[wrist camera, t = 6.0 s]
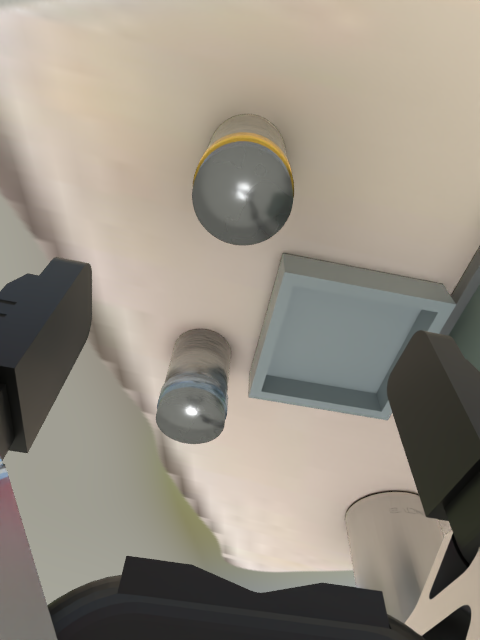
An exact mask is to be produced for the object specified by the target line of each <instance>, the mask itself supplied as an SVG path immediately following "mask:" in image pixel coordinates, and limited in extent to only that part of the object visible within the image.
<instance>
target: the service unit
mask: <svg viewBox="0 0 480 640" xmlns="http://www.w3.org/2000/svg"><path fill="white" fill-rule="evenodd" d="M451 297H452V299H453V300H454V302H455V303H456V306H455V308H454V309H453V311H452V313H451V314H450V316H449V318H448V319H447V321H446V323H445V324H444V326H443V328H442V329H441V331H440V333H439V334H443V335H448V336H451V337H452V338H453V339H454V340H455V342H456V344H457V346H458V347H459V349H460V351H461V352H462V354H463V356H464V358H465V359H467V360H468V361H469V362H470V363H471V364H472V365H473V366H474V367H475V368H476V369H477V370H478V371H480V247H479V248H478V250H477V252H476V254H475V255H474V257H473V259H472V261H471V262H470V264H469V266H468V267H467V269H466V271H465V273H464V274H463V276H462V278H461V280H460V281H459V283H458V285H457V287H456V288H455V290H454V292H453V294H452V295H451Z"/></svg>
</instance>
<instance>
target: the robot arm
mask: <svg viewBox="0 0 480 640" xmlns="http://www.w3.org/2000/svg"><path fill="white" fill-rule="evenodd" d="M91 320H92V270H91V266H90V264H89V263H84V262H79V261H74V260H69V259H64V258H59V257H55V258H54V259H53V260H52V261H51V262H50V263H49V264H48V265H47V267H46V268H45V269H44V270H43V272H42V273H41V274H40V275H39V276H38V275H33V274H26V275H24V276H22V277H20V278H18V279H16V280H14V281H12V282H10V283H8V284H7V285H6V286H5V287H4V288H3V289H2V290H1V291H0V640H480V371H478V370H477V369H476V368H475V367H474V366H473V365H472V364H471V363H470V362H469V361H468V360H467V359H465V358H464V356H463V354H462V352H461V351H460V349H459V347H458V346H457V344H456V342H455V340H454V339H453V338H452V337H451V336H448V335H443V334H438V333H433V332H428V331H423V330H419V331H417V332H416V333H414V335H413V336H412V337H411V339H410V341H409V343H408V344H407V346H406V348H405V349H404V351H403V353H402V354H401V356H400V358H399V360H398V361H397V363H396V365H395V366H394V368H393V370H392V372H391V374H390V376H389V379H388V383H387V397H388V400H389V404H390V407H391V410H392V413H393V416H394V419H395V422H396V425H397V428H398V431H399V435H400V438H401V441H402V444H403V447H404V450H405V453H406V456H407V459H408V462H409V466H410V469H411V472H412V475H413V478H414V481H415V484H416V487H417V490H418V493H419V496H418V495H416V494H411V493H405V492H386V493H379V494H375V495H371V496H368V497H366V498H364V499H361V500H359V501H358V502H356V503H355V504H353V505H352V506H351V507H350V508H349V510H348V511H347V513H346V517H345V521H346V527H347V533H348V540H349V546H350V552H351V559H352V565H353V571H354V576H355V583H356V587H349V586H342V585H334V584H327V583H319V584H312V585H307V586H301V587H295V588H289V589H283V590H277V591H272V592H266V593H257V592H253V591H250V590H248V589H246V588H243V587H241V586H239V585H236V584H234V583H232V582H230V581H228V580H225V579H223V578H220V577H218V576H216V575H214V574H212V573H209V572H207V571H205V570H203V569H200V568H198V567H196V566H194V565H189V564H182V563H175V562H167V561H160V560H154V559H146V558H139V557H132V556H126V560H125V564H124V568H123V572H122V575H118V576H112V577H106V578H103V579H100V580H97V581H93V582H90V583H88V584H85V585H83V586H80V587H78V588H76V589H74V590H72V591H70V592H68V593H67V594H65V595H63V596H61V597H59V598H58V599H56V600H54V601H53V602H52V603H50V604H49V605H47V603H46V600H45V596H44V593H43V590H42V586H41V583H40V580H39V576H38V573H37V569H36V566H35V563H34V559H33V556H32V553H31V549H30V546H29V543H28V539H27V536H26V533H25V529H24V526H23V523H22V519H21V516H20V513H19V509H18V506H17V503H16V500H15V496H14V492H13V489H12V486H11V482H10V479H9V476H8V473H7V470H6V467H5V464H3V463H2V461H3V459H4V457H5V455H6V454H7V452H8V450H10V451H17V452H23V453H28V451H29V449H30V448H31V446H32V444H33V442H34V440H35V438H36V436H37V434H38V432H39V430H40V428H41V427H42V424H43V423H44V421H45V419H46V417H47V415H48V413H49V411H50V409H51V407H52V406H53V404H54V402H55V400H56V398H57V396H58V394H59V392H60V390H61V388H62V386H63V385H64V383H65V381H66V379H67V377H68V375H69V373H70V371H71V369H72V367H73V365H74V364H75V362H76V360H77V358H78V356H79V354H80V352H81V350H82V348H83V346H84V344H85V343H86V340H87V338H88V335H89V331H90V327H91ZM438 519H440V520H447V521H449V523H450V525H451V528H452V529H451V530H450V531H449V532H448V533H447V534H446V535H445V537H444V535H443V532H442V529H441V526H440V523H439V521H438Z"/></svg>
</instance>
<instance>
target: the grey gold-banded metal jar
mask: <svg viewBox="0 0 480 640" xmlns="http://www.w3.org/2000/svg"><path fill="white" fill-rule="evenodd" d="M293 197H294V182H293V177H292V172H291V167H290V164H289V162H288V160H287V156H286V150H285V145H284V141H283V138H282V136H281V134H280V133H279V131H278V130H277V128H276V127H275V126H274V125H273V124H272V123H271V122H269V121H268V120H266V119H265V118H263V117H260V116H257V115H253V114H242V115H237V116H234V117H231V118H229V119H228V120H226V121H225V122H223V123H222V124H221V125H220V126H219V127H218V128H217V130H216V131H215V133H214V134H213V136H212V139H211V141H210V143H209V146H208V148H207V150H206V152H205V153H204V155H203V156H202V158H201V160H200V162H199V164H198V167H197V169H196V172H195V175H194V180H193V191H192V200H193V206H194V210H195V213H196V215H197V217H198V219H199V221H200V222H201V224H202V225H203V227H204V228H205V229H206V230H207V231H208V232H209V233H210V234H212V235H213V236H214V237H216V238H218V239H220V240H221V241H224V242H226V243H230V244H234V245H252V244H257V243H260V242H263V241H265V240H267V239H269V238H270V237H272V236H273V235H275V234H276V233H277V232H278V231H279V230H280V229H281V228H282V227H283V225H284V224H285V222H286V221H287V219H288V217H289V215H290V212H291V209H292V204H293Z"/></svg>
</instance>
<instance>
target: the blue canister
mask: <svg viewBox="0 0 480 640" xmlns="http://www.w3.org/2000/svg"><path fill="white" fill-rule="evenodd" d="M230 358H231V349H230V346H229V344H228V342H227V341H226V340H225V339H224V338H223V337H222V336H221V335H220V334H218V333H216V332H214V331H211V330H207V329H194V330H190V331H187V332H185V333H183V334H182V335H181V336H180V337H179V338H178V339H177V341H176V343H175V346H174V350H173V353H172V357H171V361H170V365H169V369H168V372H167V376H166V380H165V384H164V385H163V387H162V389H161V393H160V396H159V400H158V404H157V414H156V422H157V425H158V427H159V429H160V430H161V431H162V432H163V433H164V434H165V435H167V436H168V437H170V438H171V439H174V440H176V441H179V442H182V443H188V444H200V443H205V442H209V441H211V440H213V439H215V438H216V437H218V436H219V435H220V434H221V432H222V431H223V428H224V423H225V419H226V416H227V406H228V395H227V390H228V379H229V369H230Z"/></svg>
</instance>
